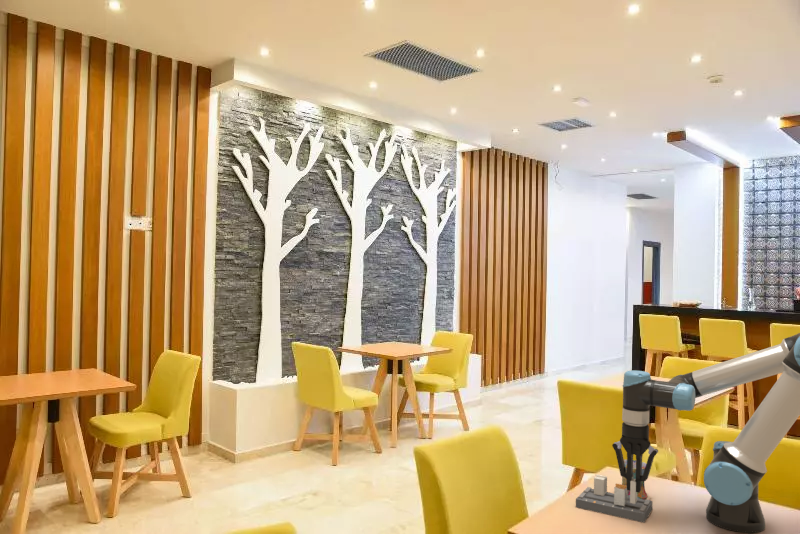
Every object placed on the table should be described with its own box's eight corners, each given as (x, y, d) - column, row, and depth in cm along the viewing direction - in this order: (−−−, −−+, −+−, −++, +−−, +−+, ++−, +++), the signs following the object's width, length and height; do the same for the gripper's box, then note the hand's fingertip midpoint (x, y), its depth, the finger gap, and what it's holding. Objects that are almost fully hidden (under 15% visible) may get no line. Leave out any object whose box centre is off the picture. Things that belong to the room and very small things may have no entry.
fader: (627, 502, 185) (627, 483, 185) (624, 506, 182) (624, 487, 182) (617, 500, 187) (617, 481, 187) (613, 504, 184) (614, 485, 184)
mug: (652, 502, 193) (653, 469, 193) (622, 501, 194) (623, 468, 194) (640, 489, 205) (640, 457, 205) (612, 488, 206) (612, 456, 206)
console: (652, 509, 188) (652, 482, 188) (644, 522, 178) (644, 494, 178) (586, 495, 198) (587, 470, 199) (575, 507, 188) (576, 480, 188)
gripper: (661, 424, 182) (659, 503, 182) (616, 417, 189) (614, 493, 189) (656, 429, 176) (654, 511, 176) (610, 422, 183) (607, 500, 183)
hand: (633, 501), depth 183 cm, fingers closed
